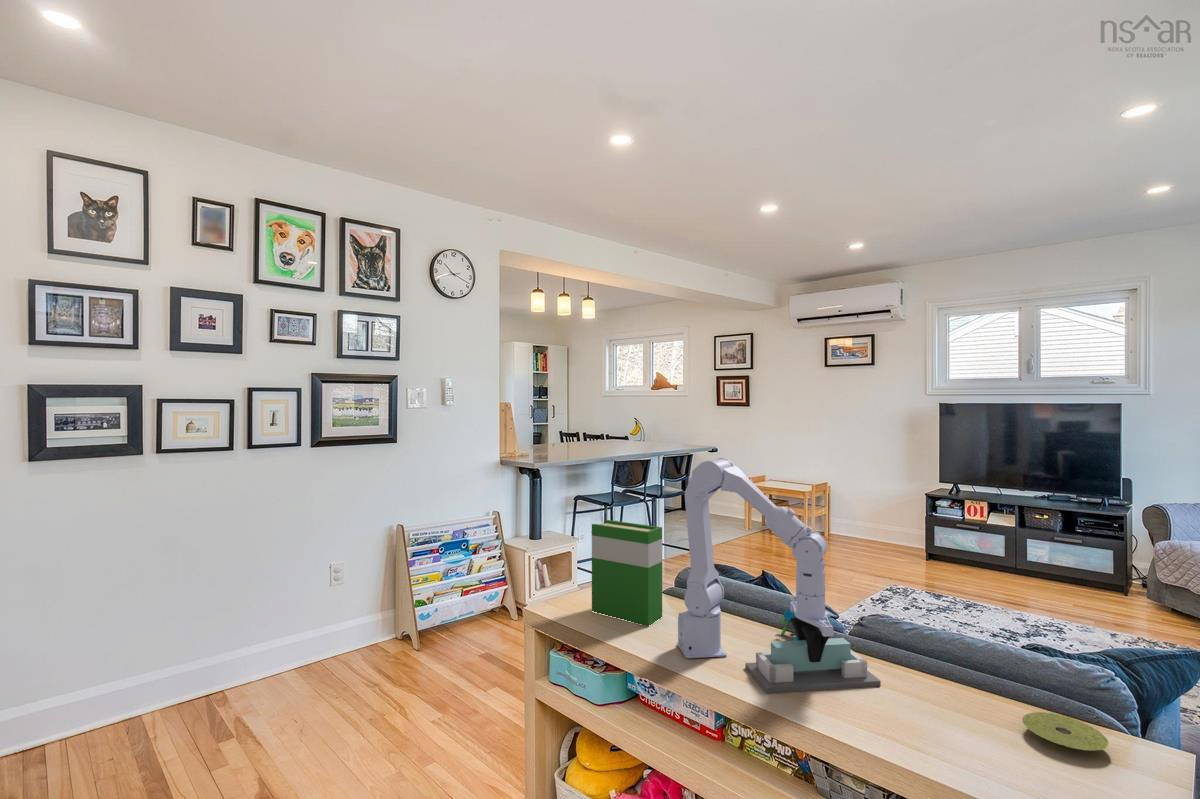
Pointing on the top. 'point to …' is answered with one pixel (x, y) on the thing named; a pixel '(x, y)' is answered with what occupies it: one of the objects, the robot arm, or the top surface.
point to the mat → (1065, 731)
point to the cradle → (810, 675)
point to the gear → (788, 622)
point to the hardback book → (627, 571)
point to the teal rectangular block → (799, 658)
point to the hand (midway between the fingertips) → (810, 657)
